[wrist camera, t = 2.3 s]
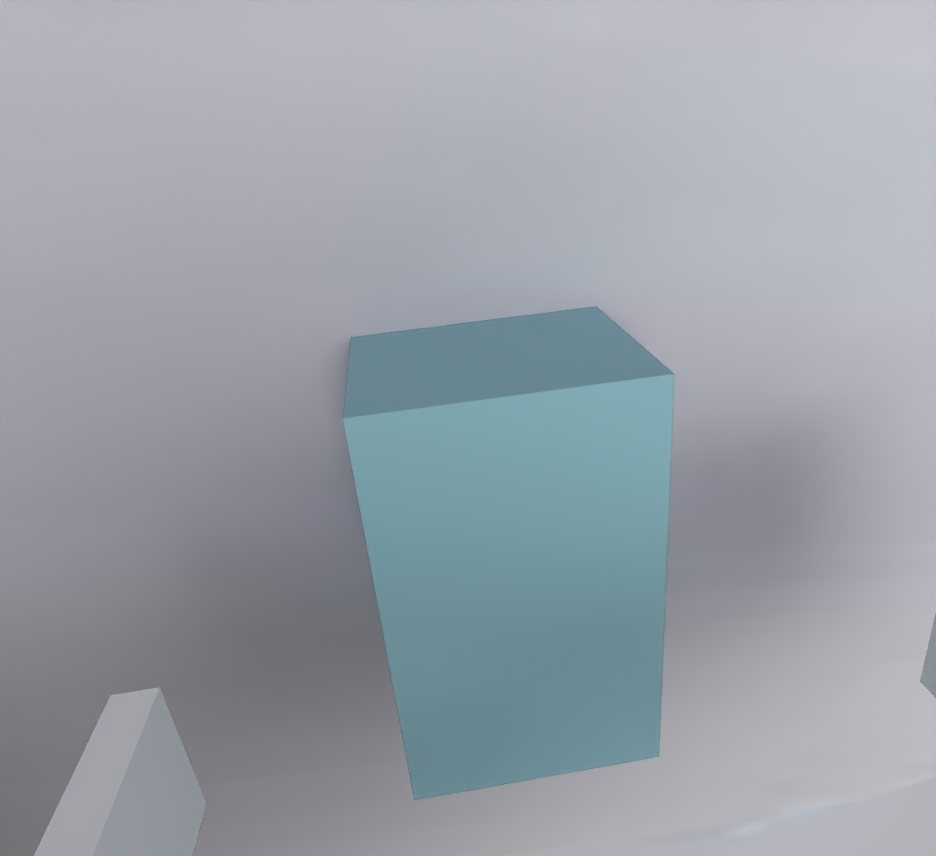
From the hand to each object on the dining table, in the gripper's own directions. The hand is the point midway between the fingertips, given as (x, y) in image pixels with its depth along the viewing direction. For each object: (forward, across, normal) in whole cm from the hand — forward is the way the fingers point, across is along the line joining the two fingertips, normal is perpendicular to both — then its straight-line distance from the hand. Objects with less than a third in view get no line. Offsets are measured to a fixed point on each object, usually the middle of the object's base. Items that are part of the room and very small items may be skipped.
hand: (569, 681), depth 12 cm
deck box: (+8, 0, -1) cm, 8 cm away
